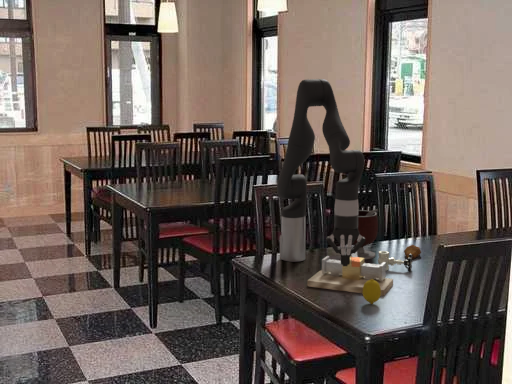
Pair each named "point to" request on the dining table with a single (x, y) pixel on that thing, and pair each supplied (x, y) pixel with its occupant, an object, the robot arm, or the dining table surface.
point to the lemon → (371, 291)
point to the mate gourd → (367, 231)
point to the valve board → (345, 283)
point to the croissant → (412, 251)
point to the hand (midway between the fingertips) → (345, 265)
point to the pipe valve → (354, 269)
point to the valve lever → (355, 260)
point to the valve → (394, 260)
